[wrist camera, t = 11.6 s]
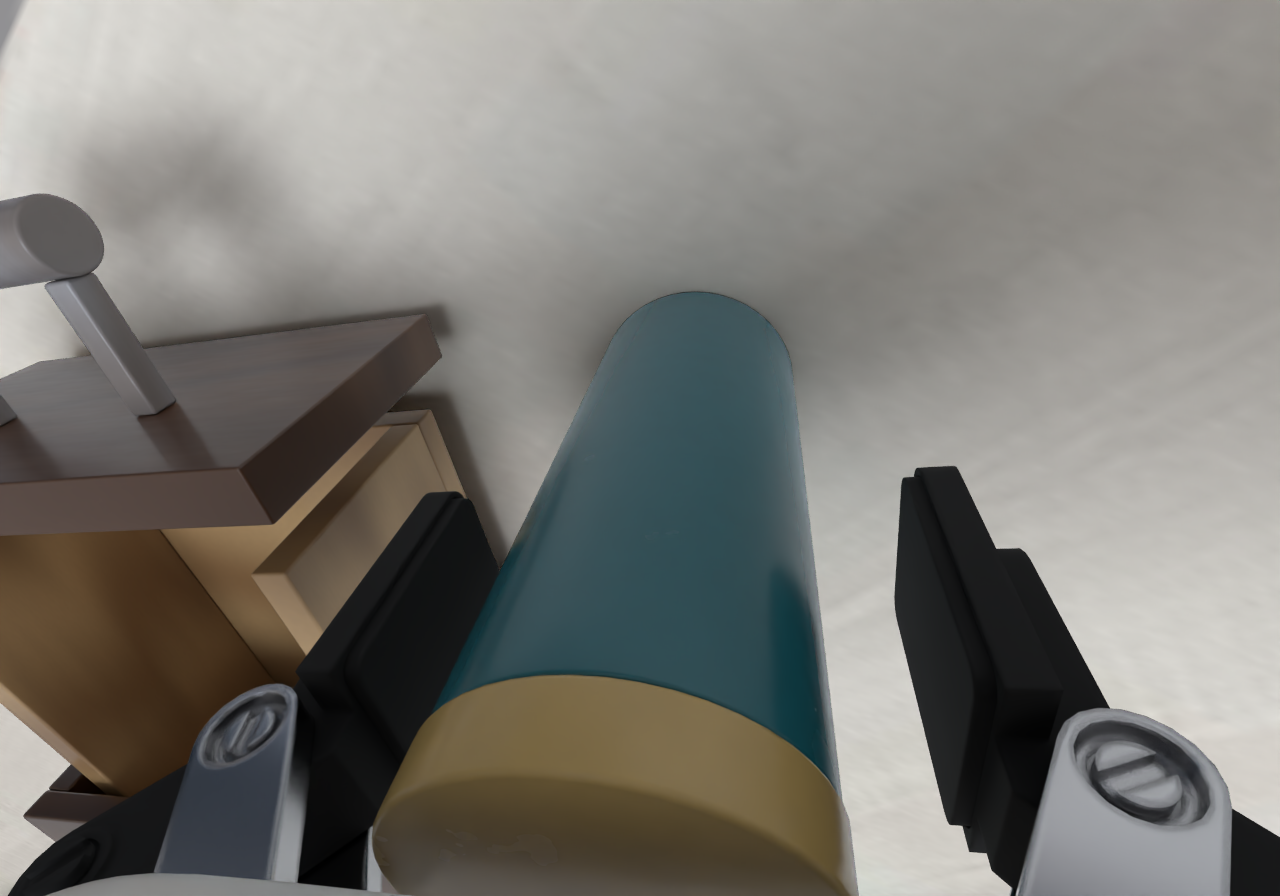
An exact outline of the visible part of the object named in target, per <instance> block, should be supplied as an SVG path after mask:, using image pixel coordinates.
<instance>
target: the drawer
mask: <svg viewBox="0 0 1280 896" xmlns="http://www.w3.org/2000/svg"><path fill="white" fill-rule="evenodd" d="M103 255H104V244H103V239H102V236H101V233H100V231H99V229H98V228H97V226H96V224H95V223H94V221H93V220H92V219H91V218H90V217H89V216H88V215H87V214H86V213H85V212H84V211H83V210H82V209H81V208H79V207H78V206H77V205H75V204H73V203H72V202H70V201H68V200H66V199H64V198H61V197H58V196H54V195H50V194H32V195H28V196H23V197H18V198H13V199H8V200H3V201H0V289H4V288H10V287H16V286H23V285H29V284H35V283H41V282H47V281H52V282H49V283H47V284H46V285H45V289H46V290H47V292H48V293H49V295H50V296H51V297H52V299H53V300H54V302H55V303H56V305H57V306H58V307H59V309H60V310H61V312H62V313H63V315H64V316H65V318H66V319H67V320H68V322H69V323H70V325H71V326H72V328H73V329H74V330H75V332H76V333H77V335H78V336H79V338H80V339H81V340H82V342H83V343H84V345H85V346H86V348H87V349H88V350H89V352H90V353H91V355H90V356H82V357H74V358H65V359H57V360H49V361H41V362H38V363H35V364H33V365H31V366H29V367H26V368H24V369H22V370H19V371H17V372H15V373H13V374H10V375H8V376H6V377H4V378H1V379H0V703H1V704H2V705H3V706H4V707H6V708H7V709H8V710H9V711H10V712H11V713H13V714H14V715H15V716H16V717H17V718H18V719H20V720H21V721H22V722H23V723H24V724H25V725H26V726H28V727H29V728H30V729H31V730H32V731H33V732H35V733H36V734H37V735H38V736H39V737H40V738H42V739H43V740H44V741H45V742H46V743H47V744H49V745H50V746H51V747H52V748H53V749H54V750H55V751H57V752H58V753H59V754H60V755H61V756H62V757H64V758H65V759H66V760H67V761H68V762H69V763H71V764H72V765H73V766H74V767H75V768H76V769H77V770H79V771H80V772H81V773H82V774H83V775H84V776H86V777H87V778H88V779H89V780H90V781H91V782H93V783H94V784H95V785H96V786H97V787H98V788H100V789H101V790H102V791H103V792H104V793H105V794H106V795H112V796H124V797H131V796H133V795H134V794H136V793H138V792H140V791H141V790H143V789H145V788H147V787H148V786H150V785H152V784H153V783H155V782H157V781H159V780H160V779H162V778H164V777H165V776H167V775H169V774H171V773H172V772H174V771H176V770H177V769H179V768H181V767H183V766H184V765H186V764H188V761H189V757H190V754H191V751H192V748H193V745H194V743H195V741H196V739H197V737H198V735H199V733H200V731H201V730H202V729H203V727H204V726H205V725H206V724H207V722H208V721H209V720H210V718H212V717H213V716H214V715H215V714H216V713H217V712H218V711H219V710H220V709H221V708H222V707H223V706H225V705H226V704H227V703H229V702H230V701H232V700H233V699H235V698H236V697H238V696H239V695H241V694H243V693H245V692H247V691H249V690H251V689H253V688H256V687H260V686H263V685H267V684H284V685H287V686H289V687H292V689H293V688H294V686H295V685H296V684H297V682H298V681H299V679H300V678H299V676H298V675H297V674H296V672H295V671H296V669H297V668H298V666H299V665H300V664H301V662H302V661H303V660H304V658H305V657H306V656H307V654H308V653H309V651H310V650H311V649H312V647H313V646H314V645H315V643H316V642H317V641H318V639H319V638H320V636H321V635H322V634H323V632H324V631H325V630H326V628H327V627H328V626H329V624H330V623H331V621H332V620H333V619H334V617H335V616H336V615H337V613H338V612H339V611H340V609H341V608H342V607H343V605H344V604H345V602H346V601H347V600H348V598H349V597H350V596H351V594H352V593H353V592H354V590H355V589H356V587H357V586H358V585H359V583H360V582H361V581H362V579H363V578H364V577H365V575H366V574H367V572H368V571H369V570H370V568H371V567H372V566H373V564H374V563H375V562H376V560H377V559H378V557H379V556H380V555H381V553H382V552H383V551H384V549H385V548H386V547H387V545H388V544H389V542H390V541H391V540H392V538H393V537H394V536H395V534H396V533H397V532H398V530H399V529H400V527H401V526H402V525H403V523H404V522H405V521H406V519H407V518H408V517H409V515H410V514H411V512H412V511H413V510H414V508H415V507H416V506H417V504H418V503H419V502H420V500H421V499H422V498H423V496H424V495H425V494H427V493H430V492H447V491H457V492H460V493H461V494H462V495H463V497H464V498H467V497H466V495H465V492H464V490H463V487H462V485H461V483H460V480H459V478H458V475H457V473H456V470H455V468H454V465H453V463H452V460H451V458H450V455H449V453H448V450H447V448H446V445H445V443H444V440H443V438H442V435H441V433H440V430H439V428H438V425H437V423H436V421H435V418H434V416H433V413H432V411H431V410H430V409H426V410H414V411H402V412H390V413H386V412H387V411H388V410H389V409H390V408H391V407H392V406H393V405H394V404H395V403H396V402H397V401H398V400H399V399H400V398H401V397H402V396H403V395H404V394H405V393H406V392H407V391H408V390H409V389H410V388H411V387H412V386H413V385H414V384H415V383H416V382H417V381H418V380H419V379H420V378H421V377H422V376H423V375H424V374H425V373H426V372H427V371H428V370H429V369H430V368H431V367H432V366H433V365H434V364H435V363H436V362H437V361H438V360H439V359H440V358H441V357H442V354H441V352H440V349H439V346H438V343H437V341H436V338H435V335H434V333H433V330H432V327H431V325H430V322H429V319H428V317H427V315H426V314H421V315H412V316H404V317H396V318H388V319H380V320H372V321H364V322H356V323H348V324H340V325H332V326H324V327H316V328H308V329H299V330H291V331H283V332H275V333H267V334H259V335H251V336H243V337H235V338H227V339H219V340H211V341H203V342H195V343H186V344H178V345H170V346H162V347H154V348H146V349H143V347H142V346H141V344H140V343H139V341H138V340H137V338H136V337H135V335H134V333H133V332H132V330H131V329H130V327H129V326H128V324H127V323H126V321H125V320H124V318H123V316H122V315H121V313H120V312H119V310H118V309H117V307H116V306H115V304H114V302H113V301H112V299H111V298H110V296H109V295H108V293H107V292H106V290H105V289H104V287H103V285H102V284H101V282H100V281H99V279H98V278H97V276H96V275H95V274H94V273H91V272H92V271H94V270H95V269H96V268H97V267H98V266H99V264H100V263H101V261H102V259H103ZM53 280H55V281H53Z"/></svg>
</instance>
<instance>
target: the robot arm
mask: <svg viewBox="0 0 1280 896" xmlns="http://www.w3.org/2000/svg"><path fill="white" fill-rule="evenodd" d="M499 572H500V571H499V568H498V566H497V563H496V561H495V558H494V556H493V553H492V551H491V548H490V546H489V543H488V541H487V538H486V536H485V533H484V531H483V528H482V526H481V523H480V521H479V518H478V516H477V513H476V511H475V508H474V506H473V504H472V502H471V501H470V500H469V499H467V498H464V497H463V495H462V494H461V493H460V492H457V491H447V492H430V493H427V494H425V495H424V496H423V498H422V499H421V500H420V502H419V503H418V504H417V506H416V507H415V508H414V510H413V511H412V512H411V514H410V515H409V517H408V518H407V519H406V521H405V522H404V523H403V525H402V526H401V527H400V529H399V530H398V532H397V533H396V534H395V536H394V537H393V538H392V540H391V541H390V542H389V544H388V545H387V547H386V548H385V549H384V551H383V552H382V553H381V555H380V556H379V557H378V559H377V560H376V562H375V563H374V564H373V566H372V567H371V568H370V570H369V571H368V572H367V574H366V575H365V577H364V578H363V579H362V581H361V582H360V583H359V585H358V586H357V587H356V589H355V590H354V592H353V593H352V594H351V596H350V597H349V598H348V600H347V601H346V602H345V604H344V605H343V607H342V608H341V609H340V611H339V612H338V613H337V615H336V616H335V617H334V619H333V620H332V621H331V623H330V624H329V626H328V627H327V628H326V630H325V631H324V632H323V634H322V635H321V636H320V638H319V639H318V641H317V642H316V643H315V645H314V646H313V647H312V649H311V650H310V651H309V653H308V654H307V656H306V657H305V658H304V660H303V661H302V662H301V664H300V665H299V666H298V668H297V669H296V671H295V672H296V674H297V675H298V676H299V678H300V679H299V681H298V682H297V684H296V685H295V686H294V688H293V689H292V687H289V686H287V685H284V684H267V685H263V686H260V687H256V688H253V689H251V690H249V691H247V692H245V693H243V694H241V695H239V696H238V697H236V698H235V699H233V700H232V701H230V702H229V703H227V704H226V705H225V706H223V707H222V708H221V709H220V710H219V711H218V712H217V713H216V714H215V715H214V716H213V717H212V718H210V720H209V721H208V722H207V724H206V725H205V726H204V727H203V729H202V730H201V731H200V733H199V735H198V737H197V739H196V741H195V743H194V745H193V748H192V751H191V754H190V757H189V761H188V764H186V765H184V766H183V767H181V768H179V769H177V770H176V771H174V772H172V773H171V774H169V775H167V776H165V777H164V778H162V779H160V780H159V781H157V782H155V783H153V784H152V785H150V786H148V787H147V788H145V789H143V790H141V791H140V792H138V793H136V794H134V795H133V796H131V797H129V798H128V799H126V800H124V801H122V802H121V803H119V804H117V805H116V806H114V807H112V808H110V809H109V810H107V811H105V812H104V813H102V814H100V815H98V816H97V817H95V818H93V819H92V820H90V821H88V822H86V823H85V824H83V825H81V826H80V827H78V828H76V829H74V830H73V831H71V832H70V833H68V834H67V835H65V836H64V837H62V838H61V839H60V840H58V841H57V842H55V843H54V844H53V845H51V846H50V847H49V848H48V849H47V850H46V851H45V852H44V853H42V854H41V855H40V856H39V857H38V858H37V859H36V860H35V861H34V862H33V863H32V864H31V865H30V866H29V867H28V869H27V870H26V871H25V872H24V873H23V874H22V875H21V877H20V878H19V879H18V881H17V882H16V884H15V885H14V887H13V888H12V890H11V891H10V893H9V894H8V896H410V895H401V894H392V893H383V892H382V872H381V870H380V868H379V866H378V864H377V862H376V859H375V857H374V852H373V848H372V831H373V823H374V821H375V818H376V816H377V813H378V811H379V809H380V807H381V805H382V803H383V801H384V798H385V796H386V794H387V792H388V790H389V788H390V786H391V784H392V782H393V780H394V778H395V776H396V774H397V772H398V770H399V768H400V766H401V764H402V762H403V760H404V758H405V756H406V754H407V752H408V750H409V748H410V745H411V743H412V741H413V739H414V737H415V735H416V733H417V731H418V730H419V729H420V727H421V726H422V725H423V724H424V722H425V721H426V720H427V718H429V717H430V715H431V713H432V711H433V709H434V707H435V704H436V702H437V700H438V698H439V696H440V694H441V692H442V690H443V688H444V686H445V684H446V682H447V680H448V678H449V675H450V673H451V671H452V669H453V667H454V665H455V663H456V661H457V659H458V657H459V655H460V653H461V651H462V649H463V647H464V644H465V642H466V640H467V638H468V636H469V634H470V632H471V630H472V628H473V626H474V624H475V622H476V620H477V618H478V615H479V613H480V611H481V609H482V607H483V605H484V603H485V601H486V599H487V597H488V595H489V593H490V591H491V589H492V587H493V584H494V582H495V580H496V578H497V576H498V574H499ZM895 611H896V617H897V622H898V626H899V630H900V634H901V638H902V642H903V646H904V650H905V654H906V658H907V662H908V666H909V670H910V675H911V679H912V683H913V687H914V691H915V695H916V699H917V703H918V707H919V711H920V715H921V719H922V723H923V727H924V731H925V735H926V739H927V743H928V747H929V751H930V756H931V760H932V764H933V768H934V772H935V776H936V780H937V784H938V788H939V792H940V796H941V800H942V804H943V808H944V812H945V815H946V818H947V821H948V823H949V824H950V825H960V826H963V830H964V834H965V837H966V841H967V845H968V849H969V852H977V853H987V856H988V859H989V863H990V866H991V870H992V871H993V872H994V873H995V874H996V875H998V876H999V877H1000V878H1001V879H1002V880H1003V881H1005V882H1006V883H1007V884H1008V885H1009V886H1011V890H1010V894H1009V896H1280V837H1278V836H1277V835H1275V834H1273V833H1272V832H1270V831H1268V830H1267V829H1265V828H1263V827H1262V826H1260V825H1259V824H1257V823H1255V822H1254V821H1252V820H1250V819H1249V818H1247V817H1245V816H1244V815H1242V814H1240V813H1239V812H1237V811H1235V810H1234V809H1232V806H1231V801H1230V796H1229V791H1228V787H1227V785H1226V783H1225V782H1224V780H1223V778H1222V777H1221V775H1220V773H1219V771H1218V770H1217V768H1216V766H1215V765H1214V764H1213V763H1212V762H1211V761H1210V760H1209V759H1208V758H1207V757H1206V756H1205V755H1204V754H1203V753H1202V751H1201V750H1200V749H1199V748H1198V747H1197V746H1196V745H1194V744H1193V743H1192V742H1190V741H1189V740H1187V739H1186V738H1185V737H1183V736H1182V735H1180V734H1179V733H1178V732H1176V731H1175V730H1173V729H1172V728H1170V727H1168V726H1166V725H1164V724H1162V723H1159V722H1157V721H1155V720H1153V719H1151V718H1149V717H1147V716H1144V715H1140V714H1136V713H1133V712H1129V711H1126V710H1122V709H1110V708H1109V706H1108V704H1107V702H1106V700H1105V698H1104V696H1103V695H1102V693H1101V691H1100V689H1099V687H1098V685H1097V683H1096V681H1095V680H1094V678H1093V676H1092V674H1091V672H1090V670H1089V668H1088V666H1087V665H1086V663H1085V661H1084V659H1083V657H1082V655H1081V653H1080V652H1079V650H1078V648H1077V646H1076V644H1075V642H1074V640H1073V638H1072V637H1071V635H1070V633H1069V631H1068V629H1067V627H1066V625H1065V623H1064V622H1063V620H1062V618H1061V616H1060V614H1059V612H1058V610H1057V609H1056V607H1055V605H1054V603H1053V601H1052V599H1051V597H1050V595H1049V594H1048V592H1047V590H1046V588H1045V586H1044V584H1043V582H1042V580H1041V579H1040V577H1039V575H1038V573H1037V571H1036V569H1035V567H1034V565H1033V564H1032V562H1031V560H1030V558H1029V557H1028V556H1027V554H1026V553H1025V552H1024V551H1023V550H1021V549H1020V548H1017V549H996V547H995V545H994V543H993V541H992V539H991V537H990V535H989V533H988V531H987V528H986V526H985V524H984V522H983V520H982V518H981V516H980V514H979V512H978V510H977V508H976V506H975V503H974V501H973V499H972V497H971V495H970V493H969V491H968V489H967V487H966V485H965V483H964V480H963V478H962V476H961V474H960V472H959V470H958V469H957V467H955V466H943V467H924V468H917V469H916V470H915V474H914V477H905V478H903V479H902V485H901V500H900V516H899V532H898V548H897V564H896V580H895Z"/></svg>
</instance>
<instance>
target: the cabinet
mask: <svg viewBox="0 0 1280 896" xmlns="http://www.w3.org/2000/svg"><path fill="white" fill-rule="evenodd" d="M49 789H50V790H48V791H46V792H45V793H44V794H43V795H42V796H41V797H40V798H39V799H38V800H37V801H36V802H35V803H34V804H33V805H32V806H31V807H30V808H29V810H28V811H27V812H26V813H25V814H24V815H23V817H24V818H25V819H26V820H27V821H29V822H30V823H31V824H33V825H34V826H35V827H37V828H38V829H39V830H41V831H42V832H43V833H45V834H46V835H47V836H49V837H50V838H51V839H53V840H54V841H55V842H57V841H58V840H60V839H61V838H62V837H64V836H65V835H67V834H68V833H70V832H71V831H73V830H74V829H76V828H78V827H80V826H81V825H83V824H85V823H86V822H88V821H90V820H92V819H93V818H95V817H97V816H98V815H100V814H102V813H104V812H105V811H107V810H109V809H110V808H112V807H114V806H116V805H117V804H119V803H121V802H122V801H124V800H126V799H128V798H129V797H124V796H112V795H106V794H105V793H104V792H103V791H102V790H101V789H100V788H98V787H97V786H96V785H95V784H94V783H93V782H91V781H90V780H89V779H88V778H87V777H86V776H84V775H83V774H82V773H81V772H80V771H79V770H77V769H76V768H75V767H74V766H73V765H72V764H71V765H70V766H69V767H68V768H67V769H66V770H65V771H64V772H63V773H62V774H61V775H60V777H59V778H58V779H57V780H56V781H55V782H54V783H53V784H52V785H51V786H50V787H49ZM382 892H383V893H392V894H399V893H398V892H397V891H396V890H395V889H394V888H393V887H392V886H391V884H390V883H389V882H388V880H387V879H386V877H385V876H384V875H383V873H382Z"/></svg>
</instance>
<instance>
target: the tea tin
mask: <svg viewBox="0 0 1280 896" xmlns="http://www.w3.org/2000/svg"><path fill="white" fill-rule="evenodd" d="M372 848H373V852H374V857H375V859H376V862H377V864H378V866H379V868H380V870H381V872H382V873H383V875H384V876H385V877H386V879H387V880H388V882H389V883H390V884H391V886H392V887H393V888H394V889H395V890H396V891H397V892H398V893H399V894H401V895H410V896H859V894H858V886H857V878H856V870H855V862H854V853H853V845H852V837H851V829H850V821H849V818H848V815H847V812H846V810H845V807H844V804H843V802H842V793H841V785H840V776H839V768H838V759H837V751H836V742H835V733H834V725H833V716H832V708H831V699H830V691H829V682H828V673H827V665H826V656H825V648H824V639H823V630H822V622H821V613H820V605H819V596H818V588H817V579H816V570H815V562H814V553H813V545H812V536H811V528H810V519H809V510H808V502H807V493H806V485H805V476H804V467H803V459H802V450H801V442H800V433H799V425H798V416H797V407H796V399H795V390H794V382H793V373H792V365H791V361H790V357H789V354H788V351H787V349H786V347H785V345H784V342H783V341H782V339H781V337H780V336H779V334H778V333H777V331H776V330H775V329H774V328H773V327H772V325H771V324H770V323H769V322H768V321H767V320H766V319H765V318H764V317H762V316H761V315H760V314H759V313H758V312H756V311H755V310H753V309H752V308H750V307H749V306H747V305H745V304H743V303H741V302H739V301H737V300H734V299H731V298H729V297H726V296H722V295H717V294H712V293H703V292H687V293H679V294H673V295H669V296H666V297H663V298H660V299H657V300H655V301H653V302H651V303H648V304H646V305H645V306H643V307H642V308H640V309H639V310H637V311H636V312H634V313H633V314H632V315H631V316H630V317H629V318H628V319H626V321H625V322H624V323H623V324H622V325H621V326H620V328H619V329H618V330H617V332H616V334H615V335H614V337H613V338H612V340H611V342H610V344H609V346H608V349H607V351H606V353H605V355H604V357H603V359H602V361H601V363H600V365H599V367H598V369H597V371H596V373H595V375H594V378H593V380H592V382H591V384H590V386H589V388H588V390H587V392H586V394H585V396H584V398H583V400H582V402H581V404H580V406H579V409H578V411H577V413H576V415H575V417H574V419H573V421H572V423H571V425H570V427H569V429H568V431H567V433H566V435H565V438H564V440H563V442H562V444H561V446H560V448H559V450H558V452H557V454H556V456H555V458H554V460H553V462H552V464H551V466H550V469H549V471H548V473H547V475H546V477H545V479H544V481H543V483H542V485H541V487H540V489H539V491H538V493H537V495H536V498H535V500H534V502H533V504H532V506H531V508H530V510H529V512H528V514H527V516H526V518H525V520H524V522H523V524H522V526H521V529H520V531H519V533H518V535H517V537H516V539H515V541H514V543H513V545H512V547H511V549H510V551H509V553H508V555H507V558H506V560H505V562H504V564H503V566H502V568H501V570H500V572H499V574H498V576H497V578H496V580H495V582H494V584H493V587H492V589H491V591H490V593H489V595H488V597H487V599H486V601H485V603H484V605H483V607H482V609H481V611H480V613H479V615H478V618H477V620H476V622H475V624H474V626H473V628H472V630H471V632H470V634H469V636H468V638H467V640H466V642H465V644H464V647H463V649H462V651H461V653H460V655H459V657H458V659H457V661H456V663H455V665H454V667H453V669H452V671H451V673H450V675H449V678H448V680H447V682H446V684H445V686H444V688H443V690H442V692H441V694H440V696H439V698H438V700H437V702H436V704H435V707H434V709H433V711H432V713H431V715H430V717H429V718H427V720H426V721H425V722H424V724H423V725H422V726H421V727H420V729H419V730H418V731H417V733H416V735H415V737H414V739H413V741H412V743H411V745H410V748H409V750H408V752H407V754H406V756H405V758H404V760H403V762H402V764H401V766H400V768H399V770H398V772H397V774H396V776H395V778H394V780H393V782H392V784H391V786H390V788H389V790H388V792H387V794H386V796H385V798H384V801H383V803H382V805H381V807H380V809H379V811H378V813H377V816H376V818H375V821H374V823H373V831H372Z"/></svg>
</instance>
